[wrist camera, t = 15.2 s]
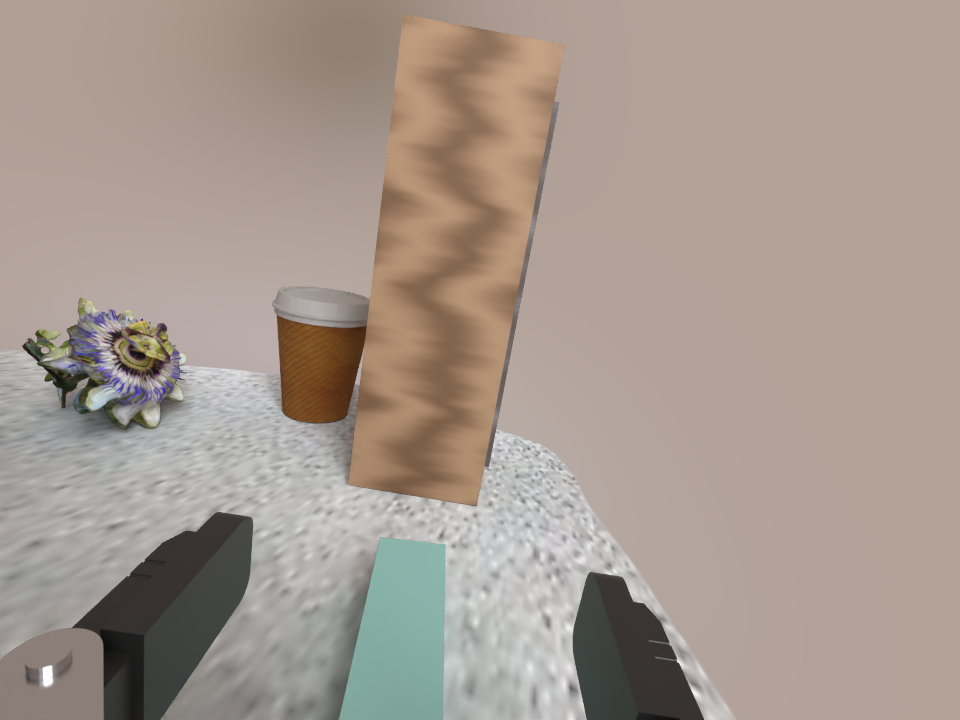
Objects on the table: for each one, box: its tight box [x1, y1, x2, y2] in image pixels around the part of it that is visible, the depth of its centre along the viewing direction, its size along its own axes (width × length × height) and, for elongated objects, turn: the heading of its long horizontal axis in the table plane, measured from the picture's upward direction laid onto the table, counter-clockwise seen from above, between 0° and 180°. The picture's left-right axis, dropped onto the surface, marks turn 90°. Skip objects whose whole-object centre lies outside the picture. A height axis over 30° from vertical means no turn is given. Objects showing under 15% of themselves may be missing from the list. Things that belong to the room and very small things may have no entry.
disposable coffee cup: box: [272, 286, 370, 423], centre depth 49 cm, size 10×10×12 cm
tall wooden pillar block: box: [348, 15, 565, 506], centre depth 40 cm, size 10×12×32 cm
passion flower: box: [23, 298, 187, 429], centre depth 41 cm, size 11×11×12 cm
